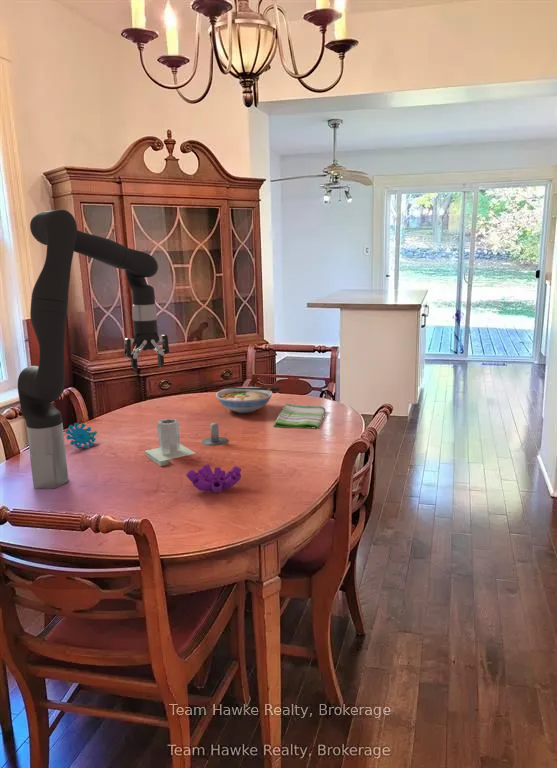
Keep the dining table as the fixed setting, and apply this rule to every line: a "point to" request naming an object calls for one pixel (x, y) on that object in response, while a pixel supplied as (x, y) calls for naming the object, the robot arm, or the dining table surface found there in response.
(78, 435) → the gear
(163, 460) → the plate with upright peg
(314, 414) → the dish towel
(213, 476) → the pipe connector assembly
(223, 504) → the dining table surface
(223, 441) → the stand
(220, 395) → the ramen bowl
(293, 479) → the dining table surface
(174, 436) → the sleeve
